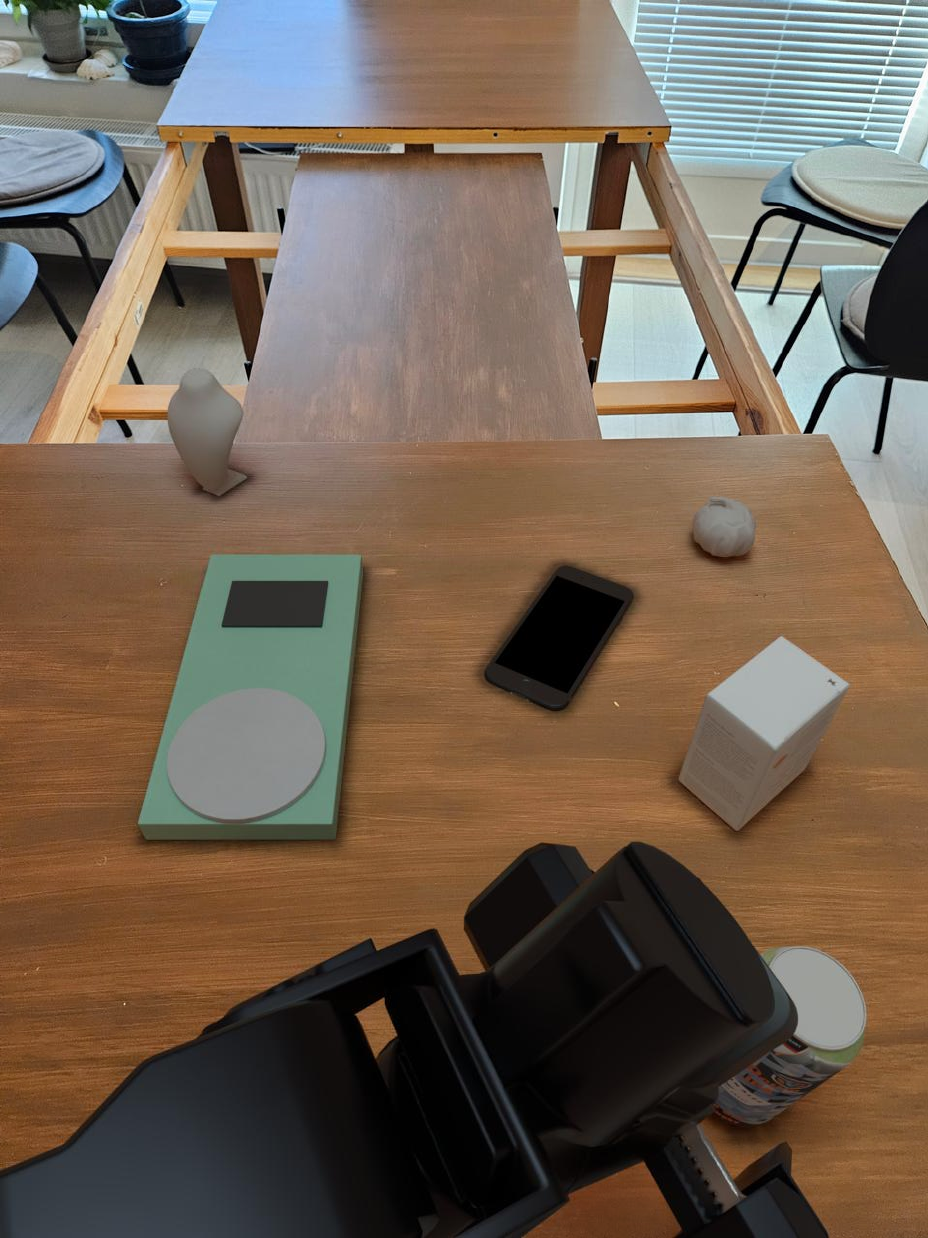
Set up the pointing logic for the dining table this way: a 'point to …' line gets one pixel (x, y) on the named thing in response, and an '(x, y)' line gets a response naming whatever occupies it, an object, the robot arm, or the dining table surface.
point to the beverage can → (799, 1038)
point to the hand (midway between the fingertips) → (715, 1050)
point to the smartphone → (559, 638)
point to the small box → (760, 730)
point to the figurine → (205, 429)
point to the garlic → (724, 527)
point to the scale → (260, 703)
